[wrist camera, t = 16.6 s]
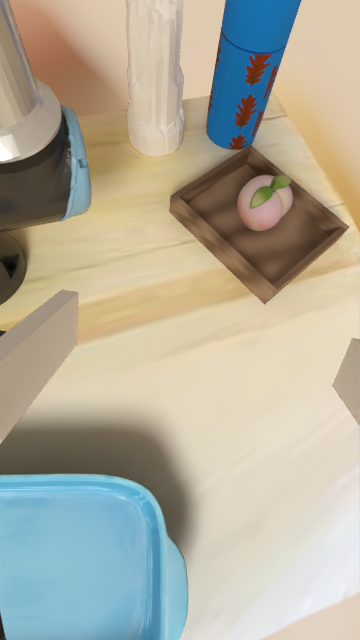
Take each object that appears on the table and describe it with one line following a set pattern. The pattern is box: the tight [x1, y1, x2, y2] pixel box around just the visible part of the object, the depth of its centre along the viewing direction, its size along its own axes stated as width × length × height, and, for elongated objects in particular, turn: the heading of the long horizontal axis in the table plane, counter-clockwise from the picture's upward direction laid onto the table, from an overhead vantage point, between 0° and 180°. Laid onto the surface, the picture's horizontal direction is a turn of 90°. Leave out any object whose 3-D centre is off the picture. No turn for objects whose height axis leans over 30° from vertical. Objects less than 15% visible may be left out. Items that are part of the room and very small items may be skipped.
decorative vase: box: [126, 0, 184, 157], centre depth 52 cm, size 11×11×25 cm
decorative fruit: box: [237, 175, 293, 231], centre depth 52 cm, size 9×8×10 cm
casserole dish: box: [0, 473, 188, 640], centre depth 33 cm, size 37×22×7 cm, turn 91°
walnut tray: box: [170, 145, 349, 304], centre depth 55 cm, size 24×20×4 cm
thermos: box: [206, 0, 301, 150], centre depth 54 cm, size 11×11×25 cm
